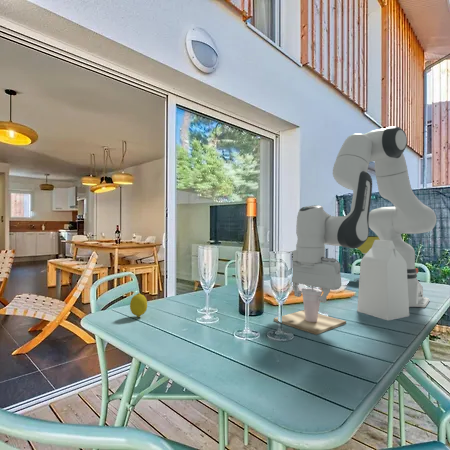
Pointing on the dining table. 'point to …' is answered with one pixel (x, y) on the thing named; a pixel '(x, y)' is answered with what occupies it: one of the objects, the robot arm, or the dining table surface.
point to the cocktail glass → (367, 246)
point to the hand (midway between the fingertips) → (309, 299)
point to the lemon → (138, 305)
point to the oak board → (316, 327)
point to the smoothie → (311, 303)
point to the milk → (383, 282)
